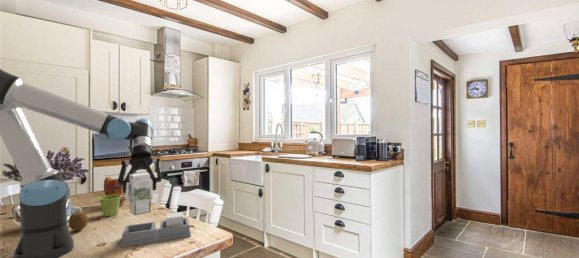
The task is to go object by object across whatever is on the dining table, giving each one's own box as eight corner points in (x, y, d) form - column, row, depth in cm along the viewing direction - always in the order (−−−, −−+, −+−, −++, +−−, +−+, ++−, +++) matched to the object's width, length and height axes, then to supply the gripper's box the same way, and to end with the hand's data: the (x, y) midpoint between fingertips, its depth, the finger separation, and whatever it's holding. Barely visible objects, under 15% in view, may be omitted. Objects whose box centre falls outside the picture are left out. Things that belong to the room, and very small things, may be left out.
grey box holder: (120, 247, 99) (119, 226, 99) (125, 236, 109) (124, 217, 109) (190, 236, 108) (190, 217, 108) (189, 227, 118) (188, 209, 118)
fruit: (90, 227, 120) (89, 208, 120) (84, 232, 114) (84, 212, 114) (72, 229, 119) (72, 209, 118) (66, 234, 113) (65, 214, 112)
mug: (128, 205, 153) (127, 177, 153) (112, 209, 147) (111, 179, 146) (114, 202, 161) (113, 175, 161) (98, 205, 154) (97, 177, 154)
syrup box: (146, 209, 111) (145, 171, 110) (151, 212, 106) (150, 173, 106) (130, 212, 107) (128, 173, 107) (134, 216, 102) (132, 175, 102)
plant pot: (104, 219, 131) (104, 200, 131) (95, 216, 136) (94, 197, 136) (125, 213, 138) (125, 195, 138) (116, 210, 144) (115, 193, 144)
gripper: (168, 154, 124) (169, 200, 109) (115, 157, 117) (108, 207, 102) (168, 142, 119) (169, 189, 104) (112, 145, 112) (104, 196, 97)
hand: (139, 198), depth 103 cm, fingers closed on syrup box, 7 cm apart
